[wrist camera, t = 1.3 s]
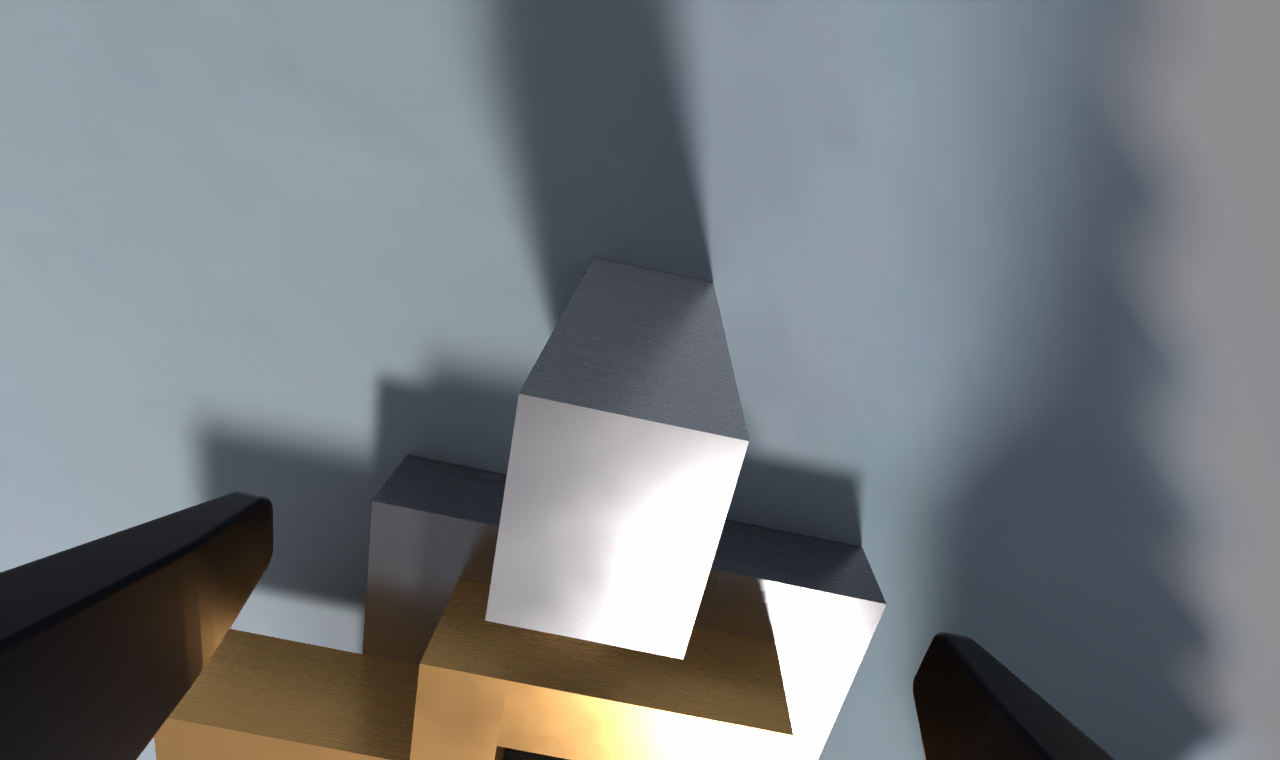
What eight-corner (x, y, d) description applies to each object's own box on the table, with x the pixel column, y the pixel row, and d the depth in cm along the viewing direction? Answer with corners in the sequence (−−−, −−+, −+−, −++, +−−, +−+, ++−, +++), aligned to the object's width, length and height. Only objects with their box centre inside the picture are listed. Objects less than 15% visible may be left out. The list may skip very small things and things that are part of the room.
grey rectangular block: (713, 282, 17) (749, 441, 9) (679, 417, 19) (683, 659, 11) (593, 257, 17) (518, 394, 9) (568, 394, 19) (485, 620, 11)
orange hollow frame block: (862, 547, 20) (925, 694, 15) (742, 842, 26) (759, 1024, 20) (273, 428, 20) (132, 539, 15) (275, 754, 25) (173, 920, 20)
